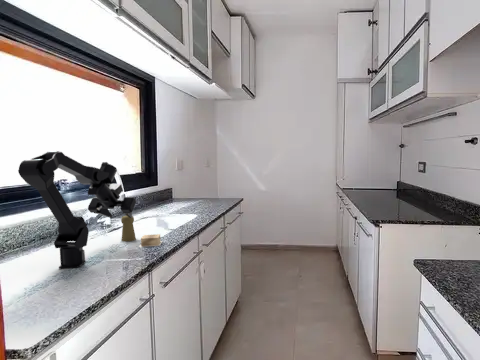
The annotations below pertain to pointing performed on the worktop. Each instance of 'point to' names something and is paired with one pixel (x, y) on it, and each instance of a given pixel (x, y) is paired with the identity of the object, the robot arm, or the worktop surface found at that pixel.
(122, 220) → the cork
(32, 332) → the worktop surface
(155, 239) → the oak block
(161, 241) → the pale blue tile
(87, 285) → the worktop surface
